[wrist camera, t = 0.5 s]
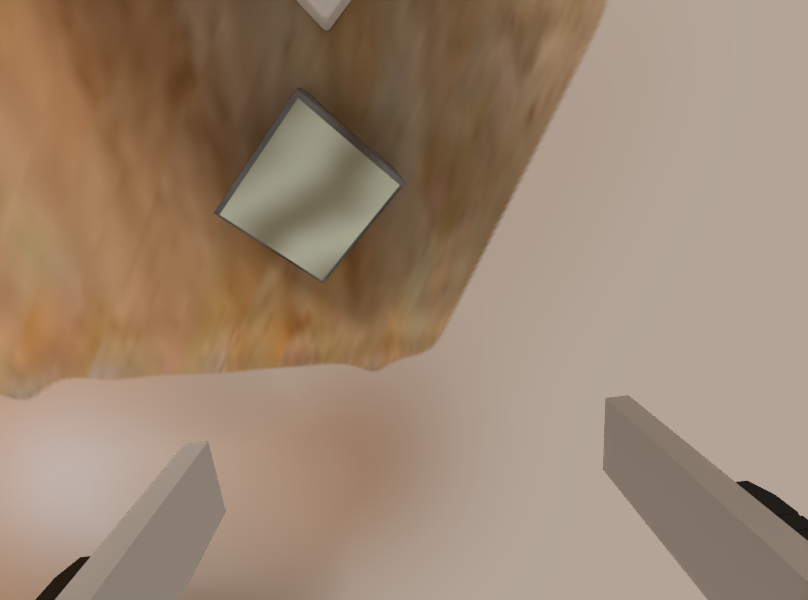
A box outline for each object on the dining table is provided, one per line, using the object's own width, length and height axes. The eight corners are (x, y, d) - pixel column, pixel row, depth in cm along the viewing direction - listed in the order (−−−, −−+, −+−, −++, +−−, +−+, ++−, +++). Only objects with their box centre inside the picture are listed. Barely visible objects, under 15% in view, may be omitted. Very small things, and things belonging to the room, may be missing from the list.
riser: (228, 196, 34) (211, 215, 29) (301, 87, 31) (296, 88, 26) (324, 260, 38) (323, 286, 33) (396, 170, 35) (406, 184, 31)
